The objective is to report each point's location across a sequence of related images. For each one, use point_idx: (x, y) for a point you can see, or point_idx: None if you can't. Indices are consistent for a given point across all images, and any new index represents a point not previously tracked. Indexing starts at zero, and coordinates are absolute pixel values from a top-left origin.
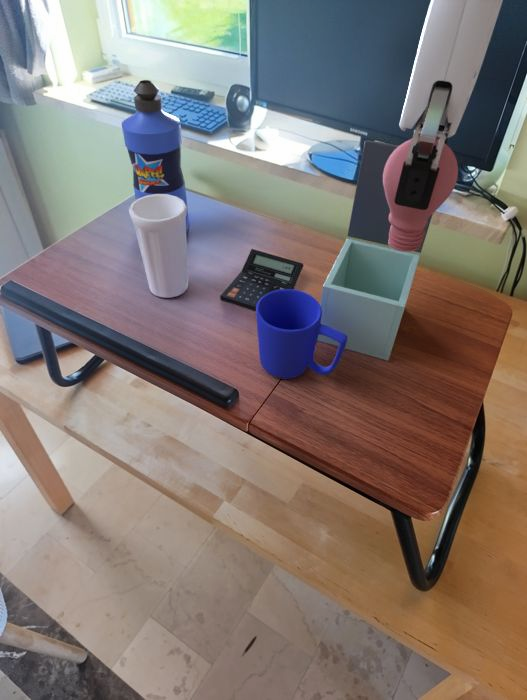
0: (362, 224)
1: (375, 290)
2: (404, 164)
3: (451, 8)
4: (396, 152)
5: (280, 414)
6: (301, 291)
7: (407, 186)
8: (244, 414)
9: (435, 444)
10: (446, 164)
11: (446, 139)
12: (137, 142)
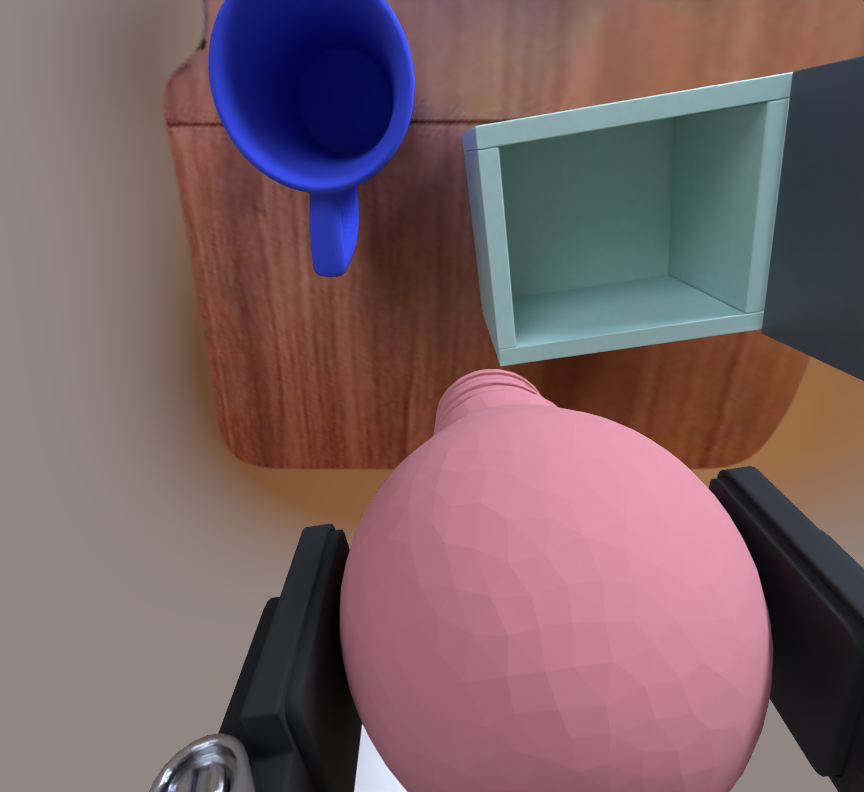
0: (830, 120)
1: (682, 211)
2: (243, 718)
3: None
4: (485, 594)
5: (221, 175)
6: (409, 74)
7: (248, 656)
8: (168, 102)
9: (340, 437)
10: None
11: (838, 781)
12: None
